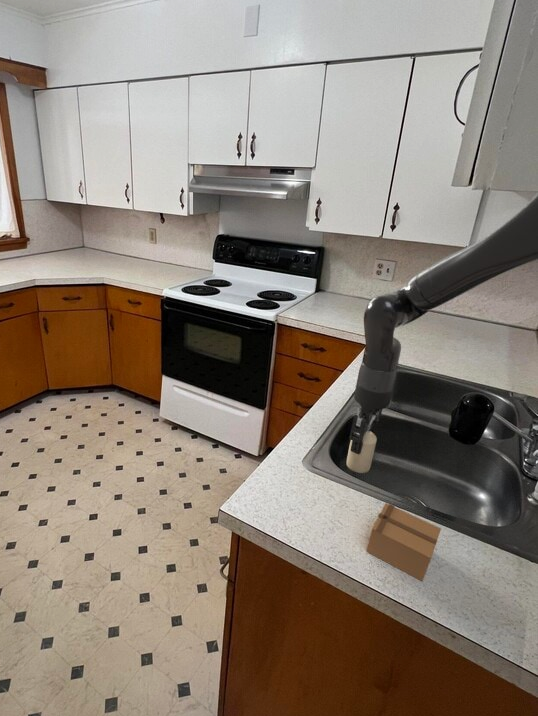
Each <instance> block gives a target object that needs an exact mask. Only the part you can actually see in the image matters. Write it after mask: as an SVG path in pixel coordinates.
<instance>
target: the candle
mask: <svg viewBox="0 0 538 716" xmlns="http://www.w3.org/2000/svg"><path fill="white" fill-rule="evenodd" d="M356 434H358V435H360V434H359V433H356ZM364 439H365V440H364V441H363V446H362V451H361V453H360V454H356V453H354V452H352V451H351V445H352V440H350V441H349V447H348V452H347V457H346V466H347V467H348V469H349V470H350V471H352V472H355V473H358V474H366V473H368V472H369V471H370V469H371V466H372V463H373V458H374V453H375V451H376V445H377V440H378V438H377V436H376V435H375V433H374V434H373V433H372V432H371V431H370V432H368V433H366V436H365V438H364Z"/></svg>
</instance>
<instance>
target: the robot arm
mask: <svg viewBox="0 0 538 716" xmlns="http://www.w3.org/2000/svg"><path fill="white" fill-rule="evenodd" d="M535 261H538V192H536V194H535V195H534V196H533V197H532V198H531V199H530V201H529V202H528V203H527V204H526V205H525V206H524V207H523V208H522V209H520V210H519V211H518V212H517V213H516V214H514V215H513V216H512V217H511V218H509V220H508V221H506V222H504V224H502V225H501V226H500V227H499V228H497V229H496V230H494V231H493V232H491V233H489V234H488V235H486V236H485V237H483V238H481V239H480V240H478V241H476V242H474V243H472V244H471V245H468V246H467V247H464V248H462V249H460V250H457V251H456V252H453V253H451V254H449V255H448V256H446V257H443V258H442V259H440V260H438V261H437V262H435V263H433V264H432V265H430V266H428V267H427V268H425V269H423V270H422V271H420V272H418V273H417V274H416V275H414V276H412V277H411V278H410V280H409V281H408V282H407V284H406V285H405V286H403V287H402V288H400V289H398V290H395V291H393V292H390V293H384V294H381V295H377V296H375V297H373V298H371V299H370V301H369V302H368V303H367V305H366V307H365V309H364V313H363V331H364V341H365V345H364V351H363V356H362V361H361V364H360V367H359V370H358V374H357V380H356V383H355V384H356V385H355V389H354V394H353V398H354V400H355V402H356V403H357V404H358V405H359V406H360V407H358V409H357V411H356V415H354V416H353V418H352V419H353V420H352V424H351V429H350V433H349V436H348V439H349V440H350V441H351V440H352V445H351V451H352V452H354V453H356V454H360V453H361V451H362V446H363V441H364V440H365V439H364V438H365V436H366V433H368V432H370V431H371V432H372V433H373V434H374V435H375V432H376V431H375V430H376V427H377V426H376V425H377V423H378V422H379V420H380V418H381V417H382V412H383V409H387V408H388V407H389V406H390V404H391V400H392V396H393V392H394V389H395V383H396V379H397V370H398V365H399V362H400V357H401V353H402V343H401V342H400V341H399V339H397V338H396V337H394V336H395V335H394V334H395V330H396V328H400V327H402V326H403V327H404V326H406V325H408V324H410V323H412V322H414V321H416V320H418V319H419V318H421V317H422V316H424V315H425V314H427V313H429V312H430V311H432V310H434V309H435V308H439V307H440V306H442V305H444V304H446V303H448V302H450V301H453V300H455V299H456V298H458V297H460V296H462V295H464V294H466V293H467V292H469V291H471V290H473V289H475V288H477V287H479V286H480V285H482V284H484V283H486V282H488V281H491V280H492V279H494V278H496V277H498V276H501V275H503V274H505V273H508V272H509V271H513V270H514V269H517V268H519V267H522V266H524V265H527V264H530V263H532V262H533V263H534V262H535ZM356 433H359V434H360V435H358V434H356Z"/></svg>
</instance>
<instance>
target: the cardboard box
mask: <svg viewBox="0 0 538 716" xmlns="http://www.w3.org/2000/svg"><path fill="white" fill-rule="evenodd" d="M441 531H442V528H441V527H439V526H437V525H435V524H433V523H430V522H428V521H426V520H423V519H421V518H420V517H417V516H415V515H413V514H410V513H409V512H406V511H404V510H402V509H400V508H398V507H396V506H395V505H393V504H391V503H386V502H384V505H383V507H382V508H381V511H380V512H379V513H378V515H377V518H376V519H375V522H374V523H373V525H372V527H371V530H370V536H369V539H368V543H367V547H366V553H368V554H370V555H372V556H373V557H375V558H378V559H379V560H381V561H383V562H384V563H387V564H389V565H391V566H392V567H394V568H397V569H398V570H400V571H401V572H403V573H405V574H407V575H409V576H411V577H413V578H415V579H417V580H419V581H420V582H424V579H425V577H426V573H427V571H428V568H429V565H430V562H431V559H432V556H433V553H434V550H435V547H436V545H437V543H438V539H439V535H440V533H441Z"/></svg>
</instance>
